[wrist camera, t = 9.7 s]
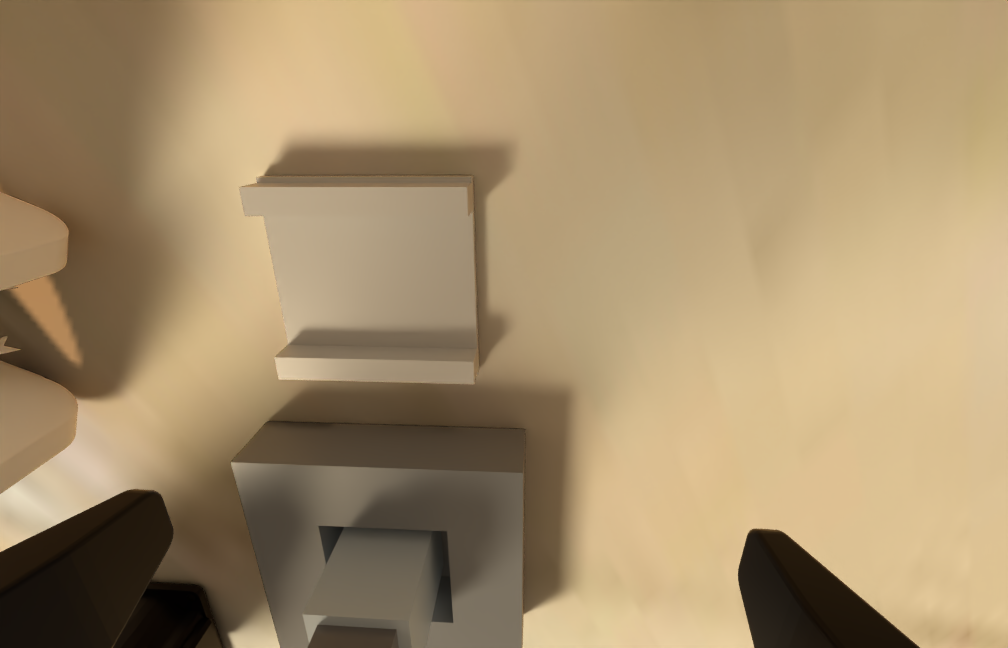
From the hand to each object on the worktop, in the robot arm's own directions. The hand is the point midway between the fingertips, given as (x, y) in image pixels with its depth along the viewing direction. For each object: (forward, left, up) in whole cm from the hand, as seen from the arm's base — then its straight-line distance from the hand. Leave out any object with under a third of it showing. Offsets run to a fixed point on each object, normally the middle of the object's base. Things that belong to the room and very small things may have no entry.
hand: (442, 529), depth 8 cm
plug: (-5, -13, -13) cm, 19 cm away
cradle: (-5, 0, -13) cm, 14 cm away
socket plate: (-5, -13, -13) cm, 19 cm away
